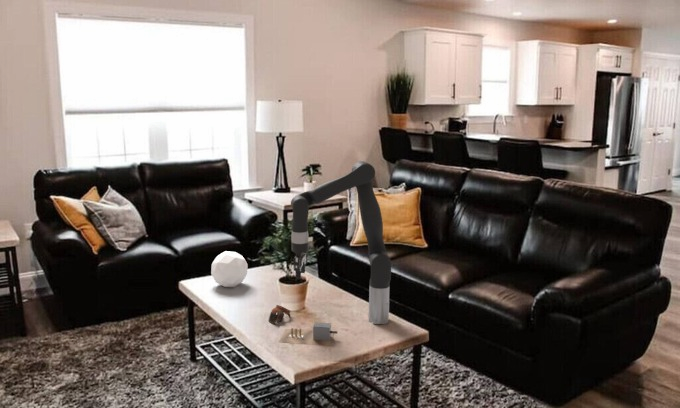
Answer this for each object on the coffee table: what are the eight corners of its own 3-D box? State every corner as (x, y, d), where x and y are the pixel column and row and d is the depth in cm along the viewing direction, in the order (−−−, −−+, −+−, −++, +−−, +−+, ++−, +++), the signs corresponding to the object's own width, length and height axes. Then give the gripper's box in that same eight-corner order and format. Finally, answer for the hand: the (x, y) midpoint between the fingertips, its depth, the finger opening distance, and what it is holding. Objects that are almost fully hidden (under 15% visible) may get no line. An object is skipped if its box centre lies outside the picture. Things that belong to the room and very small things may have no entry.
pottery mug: (266, 318, 270) (273, 302, 272) (284, 326, 272) (291, 310, 273) (268, 322, 259) (276, 305, 260) (287, 330, 260) (295, 313, 261)
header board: (334, 335, 253) (334, 324, 252) (330, 349, 239) (330, 338, 238) (285, 331, 255) (285, 321, 254) (278, 345, 242) (278, 334, 241)
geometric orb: (239, 298, 313) (252, 275, 301) (203, 288, 307) (215, 265, 295) (242, 272, 327) (254, 249, 316) (208, 262, 321) (219, 239, 309)
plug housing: (337, 336, 247) (338, 323, 246) (336, 341, 243) (336, 328, 242) (314, 335, 249) (315, 322, 247) (313, 339, 244) (313, 326, 243)
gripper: (304, 245, 247) (305, 281, 250) (311, 237, 261) (311, 271, 264) (287, 244, 248) (288, 280, 251) (295, 236, 262) (296, 270, 265)
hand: (300, 275), depth 257 cm, fingers open, 8 cm apart
